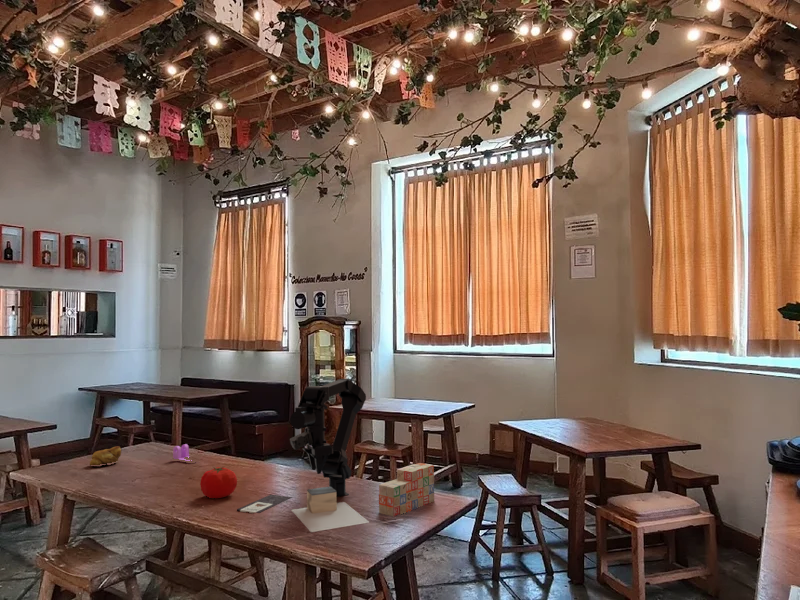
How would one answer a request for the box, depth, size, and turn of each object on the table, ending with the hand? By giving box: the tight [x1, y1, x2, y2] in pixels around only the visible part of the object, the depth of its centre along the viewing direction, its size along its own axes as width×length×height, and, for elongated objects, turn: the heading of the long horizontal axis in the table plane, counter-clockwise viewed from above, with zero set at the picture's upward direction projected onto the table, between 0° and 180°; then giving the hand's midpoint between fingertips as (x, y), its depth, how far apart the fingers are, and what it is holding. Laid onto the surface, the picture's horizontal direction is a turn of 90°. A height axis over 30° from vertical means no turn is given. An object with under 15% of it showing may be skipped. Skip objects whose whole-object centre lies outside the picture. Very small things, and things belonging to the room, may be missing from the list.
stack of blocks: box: [378, 462, 435, 517], centre depth 187 cm, size 21×6×12 cm, turn 141°
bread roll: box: [89, 445, 122, 466], centre depth 255 cm, size 13×10×8 cm
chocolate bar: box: [236, 494, 293, 514], centre depth 193 cm, size 9×1×18 cm
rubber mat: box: [291, 501, 370, 533], centre depth 179 cm, size 23×18×1 cm
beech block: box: [306, 486, 338, 514], centre depth 185 cm, size 6×8×6 cm
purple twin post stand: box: [172, 443, 192, 461], centre depth 260 cm, size 13×6×7 cm, turn 57°
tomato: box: [199, 466, 238, 499], centre depth 203 cm, size 11×13×10 cm
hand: (316, 471), depth 191 cm, fingers open, 6 cm apart
